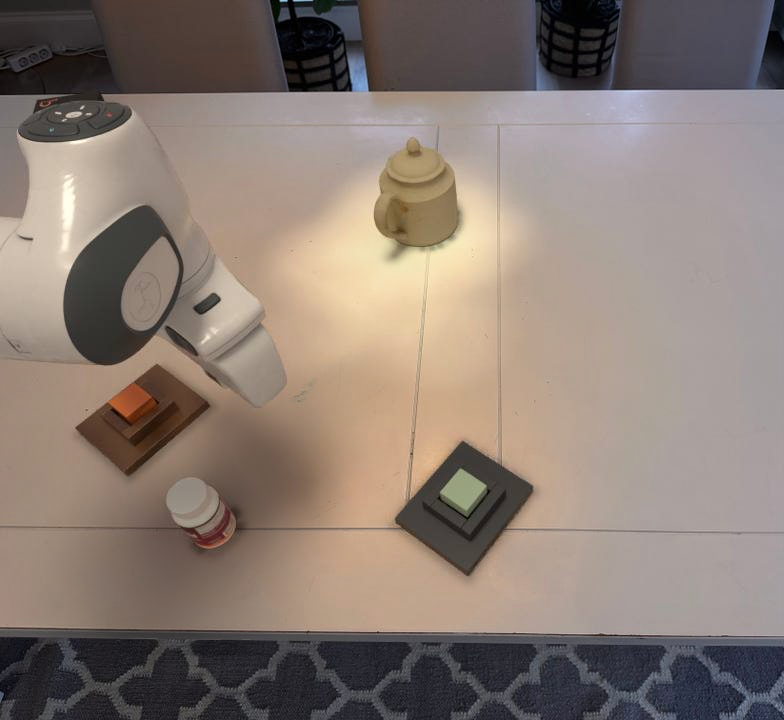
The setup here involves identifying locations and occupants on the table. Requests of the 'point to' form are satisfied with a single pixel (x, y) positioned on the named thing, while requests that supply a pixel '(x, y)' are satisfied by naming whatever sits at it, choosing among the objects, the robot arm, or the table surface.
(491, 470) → the dark grey stepped base
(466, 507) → the near key
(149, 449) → the brown button base
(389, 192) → the sugar bowl
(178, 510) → the pill bottle
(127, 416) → the far key
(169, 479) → the table surface
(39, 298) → the robot arm
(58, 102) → the electronic device
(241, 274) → the table surface
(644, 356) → the table surface
